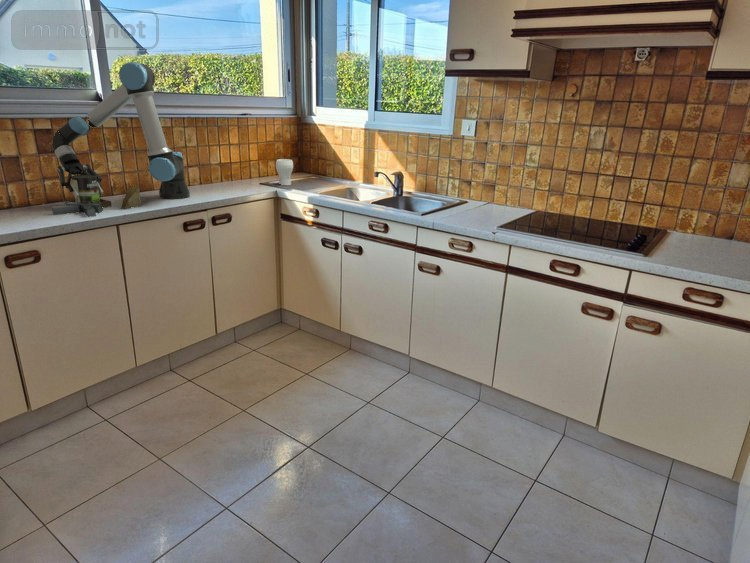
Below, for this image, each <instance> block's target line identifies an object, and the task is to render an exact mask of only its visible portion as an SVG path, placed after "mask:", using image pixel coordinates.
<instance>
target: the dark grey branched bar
mask: <svg viewBox="0 0 750 563" xmlns="http://www.w3.org/2000/svg"><path fill="white" fill-rule="evenodd" d="M103 208H104V207H103ZM103 208H102V204H95V203H76V202H69V203H66V204H65V205H60V206H59V205H58V206H57V205H56V206H51V210H52V214H53V215H54V216H58V214H59V215H67V213H69V214H77V213H76V212H79V213H83V214H84V213H85V214H84V215H85V216H87V217H88V218H91V217H96V216H97V214H99V213H100V214H101V213H103V212H102V211H104V209H103ZM96 213H97V214H96ZM90 216H91V217H90Z"/></svg>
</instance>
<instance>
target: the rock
mask: <svg viewBox="0 0 750 563" xmlns="http://www.w3.org/2000/svg"><path fill="white" fill-rule="evenodd" d="M140 195H141V191H140V188H139V187H138V186H137V185H136V186H131V187H130V188H128V189H126V192H125V195H124V198H123V200H122V201H121V202H122V203H121V206H120V209H123V210H128V209H127V208H129V209H132V208H131V207H134V208H138V207H141V206H142V204H141V203H142V201H141V198H140V197H141V196H140ZM137 206H138V207H137Z"/></svg>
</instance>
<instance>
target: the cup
mask: <svg viewBox="0 0 750 563" xmlns="http://www.w3.org/2000/svg"><path fill="white" fill-rule="evenodd" d="M275 169H276V172H277V174H278V185H279V184H281V185H280V186H291V185H292V180H291V176H292V172H293V171H294V162H293V160H292V159H290V158H289V159H288V158H287V159H286V158H279V159H276V161H275Z"/></svg>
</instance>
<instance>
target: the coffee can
mask: <svg viewBox="0 0 750 563" xmlns="http://www.w3.org/2000/svg"><path fill="white" fill-rule="evenodd" d="M71 184H73V185H74V187H75V189H76V190H77V192H78V194H79V197H78V199H76V198H75V197H74V200H75V201H76V203H97V202H100V194H99V190H98V184H97V176H96V175H80V174H79V175H77V174H76V175H72V176H71Z"/></svg>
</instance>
